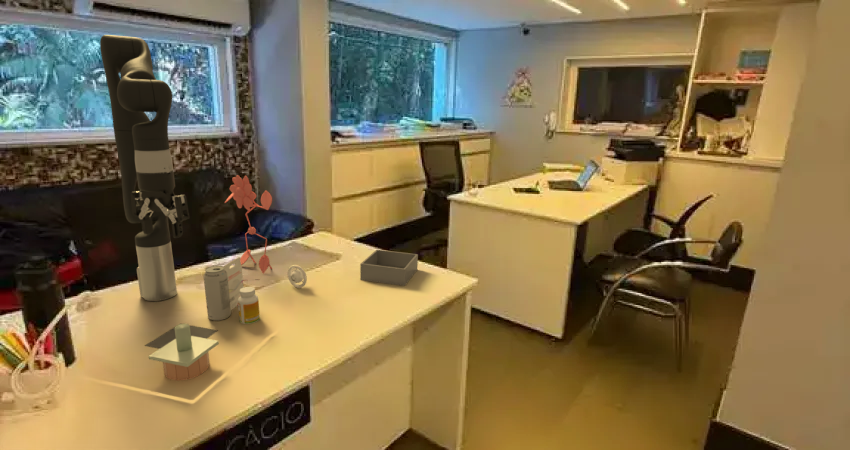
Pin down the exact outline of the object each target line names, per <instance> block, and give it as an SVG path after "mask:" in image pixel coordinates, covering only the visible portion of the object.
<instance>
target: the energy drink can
mask: <svg viewBox="0 0 850 450" xmlns="http://www.w3.org/2000/svg"><path fill="white" fill-rule="evenodd" d="M203 282H204V283H203V285H204V293H205V302H206V310H207V312H206V313H207V318H208V319H209V320H212V321H215V322H216V321H217V322H218V321H223V320H226V319H228V318H229V317H230V316H231V314H232V310H231V308H230V297H229V287H228V276H227V272H226V271H225V269H224V265H212V266H208V267H206V268H205V269H204V274H203Z"/></svg>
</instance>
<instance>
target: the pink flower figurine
mask: <svg viewBox="0 0 850 450" xmlns="http://www.w3.org/2000/svg"><path fill="white" fill-rule="evenodd" d="M232 183H233V184H231V185H230V186H229V191H230V192H231V194H230V195H228V197H227V198H226V200H225V201H224V204H226V203H227V202H229V201H230V200H231V199H232V198H233V200H234V201H235V203H236V206H237V208H238V209H242V208H243V207H244V209H246V210H247V211H246V212H245V214H244V215H245V217H246V220H247V222H248V226H249V227H248V229H247V232H246V233H245V234H244V235H245V237H244V238H245V243H246V244H245V245H246V251H244V252H243V254H242V255H241V256H240V262H241V266H243V265H244V264H245V263H246V262H247V261H248V260H249V258H250V259H251V261H253V263H254V264H257V262H256V260H255V259H254V257H253V256H252V255H251V252H252V250H251V249H249V247H248V246H249V245H248V239H247V234H249V235H256V236H258V237H260V238H262V239H264V240H265V245H264V246H265V247H264V253H263V254H262V255H261V256H260V259H259V261H258V267H259V269H260V271H261V273H262V274H264V273H266V271H267V269H268V268H269V269H270V270H272V269H273V267H272V266H271V264H270V258H269V256H268V255H267V254H266V253H267V244H268V239H267V237H265V236H262V235H260V234H258V233H256V232H257V229H256V228H255V227H254V226H251V223H250V220H249V219H250V218H249V216H248V214H249V213H250V212H251V211H252V210H254V209H255V208H256V207H258V208H261V209H263V210H266V211H269V210H270V207H271V206H272V203H273V196H272V195H271V193H270V192H269V191H268V190H264V192H263V193H262V194H261V197H260V203H261V205H259V204H258V203H256V201H255V199H256V198H257V193H255V192H254V191H252V190H253V189H252V188H253V186H252V184H251V183H250V179H249V177H248V176H247V175H244V176H243V178H242V177H240V175H238V174H237V175H236V176H234V177H232ZM259 280H260V279H259V278H258V279H256V281H259ZM246 281H247V279H243V282H246Z"/></svg>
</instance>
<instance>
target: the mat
mask: <svg viewBox="0 0 850 450" xmlns="http://www.w3.org/2000/svg"><path fill="white" fill-rule="evenodd" d="M189 325H190V324H189ZM218 331H219V330H218V329H213V328H209V327H208V328H207V327H201V326H197V325H196V326H195V325H192V324H191V325H190V333H191V336H195V337H200V338H206V339H209V338H210V337H211V336H213V335H214V334H215V333H217V332H218ZM174 339H176V336H175V327H172V328H171V329H169V330H168V331H166V332H164V333H163V334H161V335H159V336H158V337H156V338H154V339H153V340H151V341H150V342H148V343H146V344H145V345H144V346H145V347H150V348H155V349H158V350H159V349H160V348H162V347H163V346H165V345H167V344H168V343H170V342H171V341H173V340H174Z"/></svg>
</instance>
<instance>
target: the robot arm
mask: <svg viewBox="0 0 850 450" xmlns="http://www.w3.org/2000/svg"><path fill="white" fill-rule="evenodd" d="M99 47H100V54H101V55H100V56H101V61H102V65H103V69H104V74H105V79H106V83H107V89H108V93H109V100H110V107H111V108H110V109H111V116H112V117H111V118H112V126H113V134H114V140H115V141H114V142H115V146H116V151H117V156H118V164H119V167H120V176H121V189H122V199H123V210H124V215H125V218H126V220H127V222H129V224H140V223H141V229H142V231H139V232H138V233H137V234H136V235H135V236H134V243H135V250H136V255H137V264H138V267H136V274H137V275H136V276H137V281H138V287H139V294H140V295H139V296H140V298H143V300H145V301H148V302H158V301H164V300H167V299H171V298H173V297H174V296H176V295H177V294H178V290H177V289H178V288H177V280H176V273H175V272H176V271H175V264H174V257H173V249H172V242H171V239H172V238H171V234H170V232H171V231H172V237H173V238H174V239H178V238H182V237H183V234H184V227H183V222H184V221H187V220H189V219H190V212H189V211H190V210H189V206H188V199H187V196H186V194H180V195H176V194H175V193H174V190H175V188H176V181H175V173H174V172H175V171H174V164H173V158H172V154H171V150H170V142H169V140H170V139H169V134H168V133H169V132H168V131H169V130H168V129H169V127H168V126H169V118H170V112H171V108H172V105H173V92H172V89H171V87H170V86H169V84H168V83H166V81H163V80H159V79H157V78H156V77H155V74H154V72H153V71H154V70H153V59H152V55H151V54H152V53H151V51H150V47H149V45H148V43H147V42H146V41H145V40H144V39H143V38H141V37H135V36H127V35H126V36H125V35H124V36H123V35H115V34H113V35H111V34H103V35H102V36H101V38H100V41H99ZM146 113H155V116H154V118H152V119H151V120H150V117H149V116H148V115H147V114H146ZM136 185H137V187H138V188H137V189H138V190H136ZM169 220H170V221H171V229H172V230H171V231H170V227H169ZM153 222H155V223H154V224H153Z"/></svg>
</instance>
